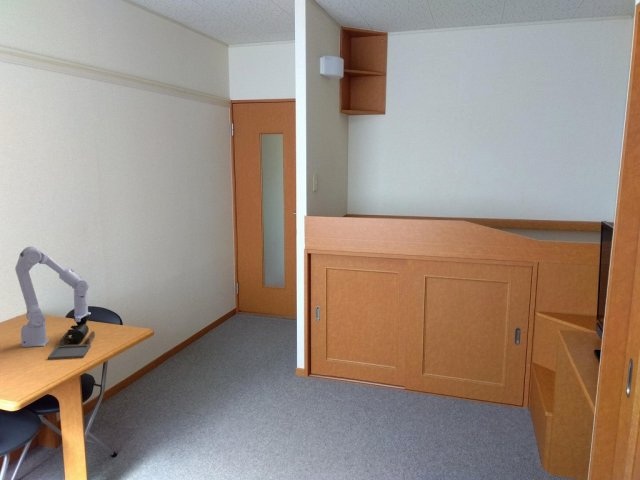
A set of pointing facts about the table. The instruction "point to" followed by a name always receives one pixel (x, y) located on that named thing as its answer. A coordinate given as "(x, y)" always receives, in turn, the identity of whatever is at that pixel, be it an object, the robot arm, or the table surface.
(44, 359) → the table surface
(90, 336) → the channel walls
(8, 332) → the table surface
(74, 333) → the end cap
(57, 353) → the tray
